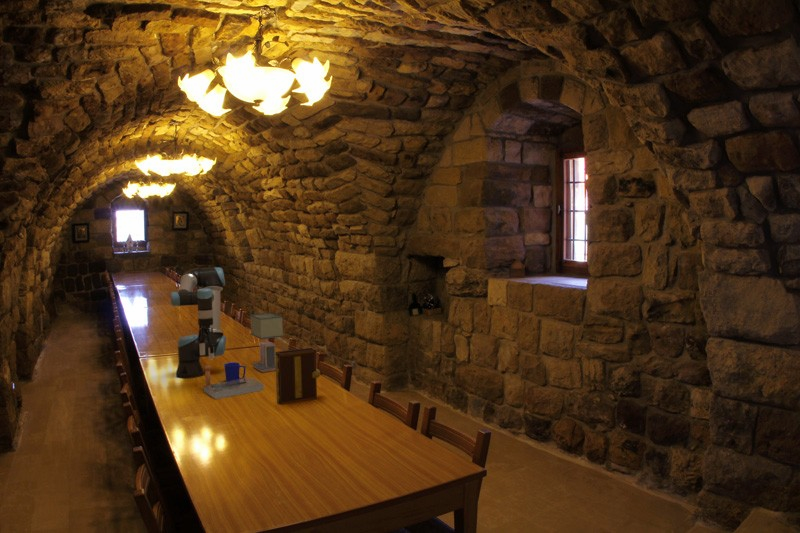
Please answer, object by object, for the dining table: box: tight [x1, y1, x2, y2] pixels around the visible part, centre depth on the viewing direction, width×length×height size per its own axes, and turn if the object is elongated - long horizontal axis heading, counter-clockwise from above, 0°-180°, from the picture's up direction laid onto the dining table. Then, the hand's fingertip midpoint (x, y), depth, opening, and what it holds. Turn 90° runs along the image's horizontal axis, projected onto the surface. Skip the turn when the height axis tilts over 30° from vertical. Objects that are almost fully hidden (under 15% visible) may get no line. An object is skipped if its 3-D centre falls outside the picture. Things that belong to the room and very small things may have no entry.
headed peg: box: [203, 364, 212, 390], centre depth 319 cm, size 5×5×12 cm
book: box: [275, 347, 321, 405], centre depth 296 cm, size 22×8×25 cm, turn 117°
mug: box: [224, 361, 247, 382], centre depth 333 cm, size 8×12×10 cm
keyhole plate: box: [203, 376, 265, 400], centre depth 315 cm, size 26×17×3 cm, turn 128°
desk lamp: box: [249, 312, 284, 373], centre depth 361 cm, size 18×14×33 cm
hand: (207, 357), depth 318 cm, fingers open, 13 cm apart
